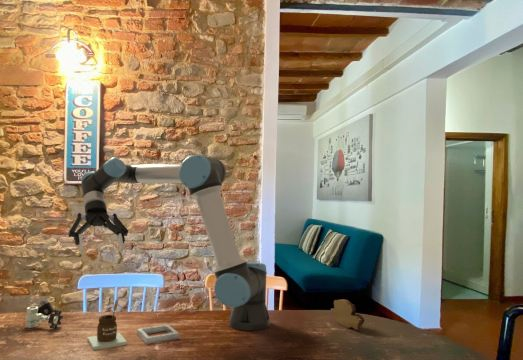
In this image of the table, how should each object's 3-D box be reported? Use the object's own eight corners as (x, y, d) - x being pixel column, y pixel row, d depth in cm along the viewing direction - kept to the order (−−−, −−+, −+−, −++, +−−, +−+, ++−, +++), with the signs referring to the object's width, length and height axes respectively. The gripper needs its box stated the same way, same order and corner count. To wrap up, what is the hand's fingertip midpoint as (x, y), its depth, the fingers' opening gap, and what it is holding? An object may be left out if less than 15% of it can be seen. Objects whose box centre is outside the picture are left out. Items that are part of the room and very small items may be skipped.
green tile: (119, 335, 143) (119, 332, 143) (126, 344, 135) (126, 341, 135) (87, 340, 138) (87, 336, 138) (93, 350, 130) (93, 346, 130)
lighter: (31, 325, 160) (24, 312, 160) (34, 323, 162) (27, 310, 162) (52, 312, 160) (44, 300, 160) (54, 311, 162) (47, 298, 162)
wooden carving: (368, 332, 153) (368, 304, 154) (359, 334, 151) (359, 305, 151) (335, 320, 167) (336, 294, 167) (327, 322, 164) (327, 295, 165)
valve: (19, 328, 148) (50, 331, 146) (20, 309, 148) (51, 312, 146) (33, 323, 154) (62, 326, 152) (34, 304, 155) (63, 307, 152)
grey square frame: (167, 329, 151) (167, 324, 151) (178, 338, 141) (179, 333, 141) (137, 334, 145) (137, 328, 145) (146, 344, 136) (146, 338, 136)
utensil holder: (93, 339, 136) (94, 301, 137) (111, 334, 141) (112, 298, 141) (102, 343, 132) (103, 304, 133) (120, 339, 137) (122, 301, 137)
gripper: (126, 212, 170) (135, 255, 157) (57, 212, 157) (61, 259, 144) (130, 199, 166) (140, 243, 153) (60, 198, 152) (64, 245, 139)
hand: (102, 250), depth 148 cm, fingers open, 13 cm apart
